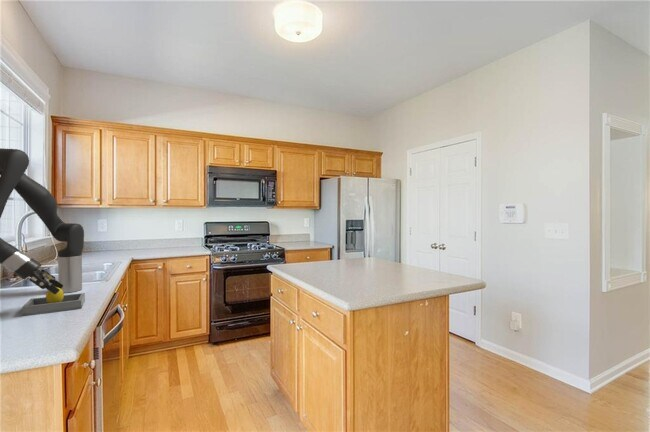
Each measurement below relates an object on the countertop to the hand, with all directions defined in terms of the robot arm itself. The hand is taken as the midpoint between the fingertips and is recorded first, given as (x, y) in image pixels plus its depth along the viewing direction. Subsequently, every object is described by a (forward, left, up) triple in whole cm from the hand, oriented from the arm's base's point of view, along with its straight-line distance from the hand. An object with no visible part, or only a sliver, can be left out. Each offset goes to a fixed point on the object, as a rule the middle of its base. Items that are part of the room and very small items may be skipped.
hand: (59, 289), depth 133 cm
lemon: (0, -2, -7) cm, 7 cm away
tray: (0, -1, -7) cm, 7 cm away
